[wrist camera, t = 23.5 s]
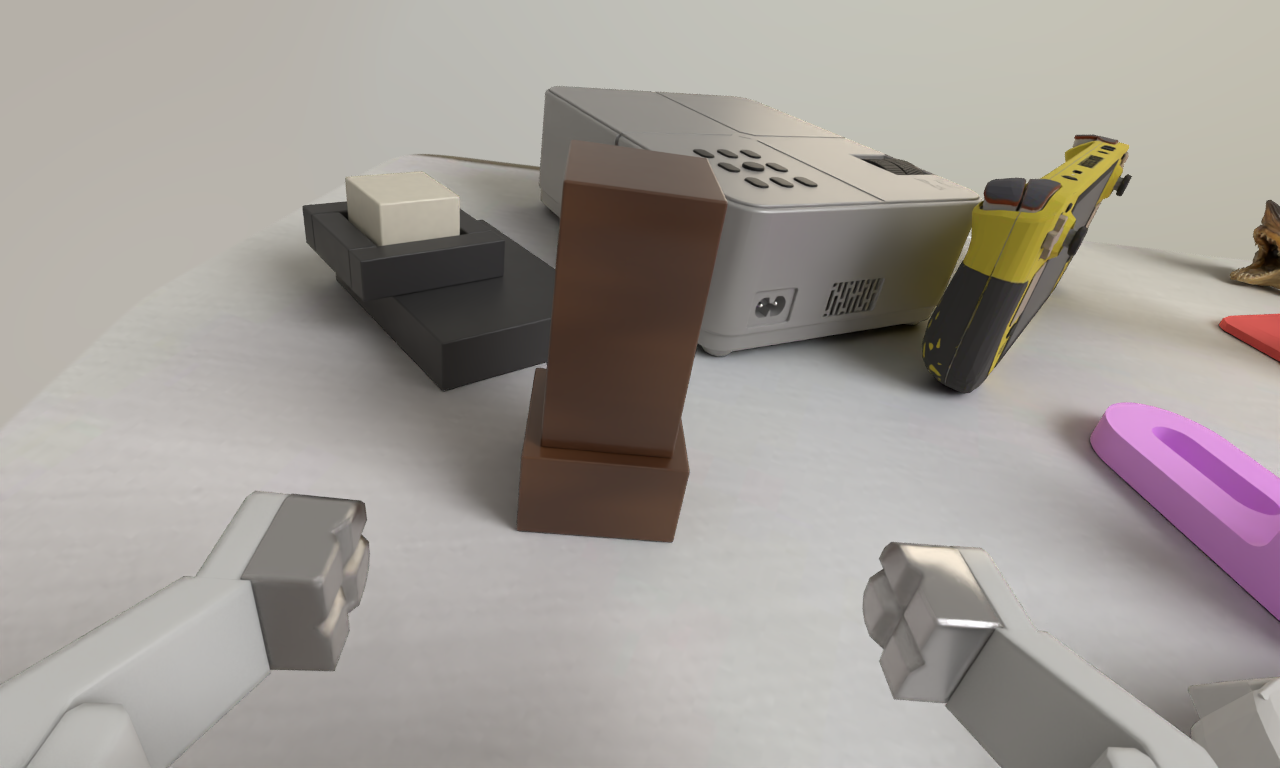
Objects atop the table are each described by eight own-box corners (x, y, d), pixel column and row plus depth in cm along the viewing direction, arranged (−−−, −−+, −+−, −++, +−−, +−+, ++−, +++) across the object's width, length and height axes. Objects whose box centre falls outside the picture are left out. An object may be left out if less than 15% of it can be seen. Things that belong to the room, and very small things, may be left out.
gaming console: (982, 423, 31) (1091, 209, 26) (894, 383, 33) (978, 177, 28) (1075, 286, 49) (1151, 144, 44) (1015, 265, 51) (1080, 126, 46)
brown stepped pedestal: (515, 531, 22) (540, 183, 16) (530, 434, 26) (553, 131, 20) (673, 543, 22) (752, 211, 16) (662, 446, 26) (722, 156, 20)
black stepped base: (412, 400, 26) (408, 307, 24) (309, 284, 33) (299, 202, 31) (601, 346, 32) (612, 267, 30) (481, 256, 39) (483, 186, 36)
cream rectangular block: (381, 251, 29) (379, 204, 28) (348, 221, 31) (344, 176, 30) (460, 240, 31) (460, 196, 30) (423, 213, 33) (422, 170, 32)
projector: (705, 369, 32) (743, 204, 28) (530, 202, 47) (537, 81, 43) (943, 328, 40) (1000, 195, 36) (726, 197, 55) (749, 94, 51)
